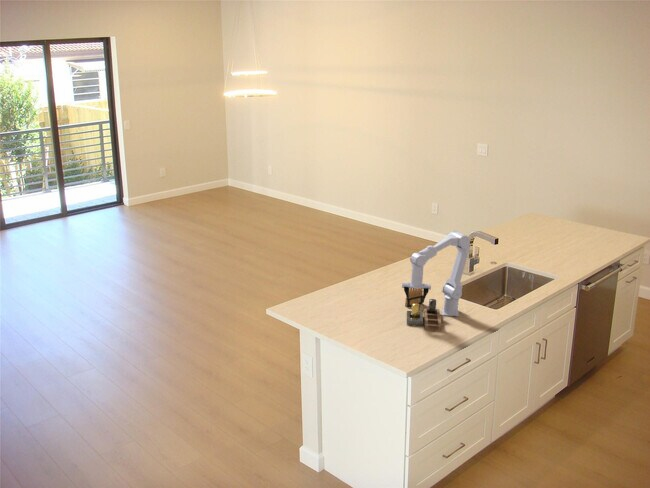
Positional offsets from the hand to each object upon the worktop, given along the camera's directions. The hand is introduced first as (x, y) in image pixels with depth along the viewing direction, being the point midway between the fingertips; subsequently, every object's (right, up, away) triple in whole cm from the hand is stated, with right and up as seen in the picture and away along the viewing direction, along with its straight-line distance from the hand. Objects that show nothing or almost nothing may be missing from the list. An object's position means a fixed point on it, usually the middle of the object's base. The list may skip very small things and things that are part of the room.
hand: (415, 301), depth 364 cm
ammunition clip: (+2, -4, +22) cm, 22 cm away
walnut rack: (+9, -10, +2) cm, 14 cm away
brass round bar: (0, -10, +3) cm, 10 cm away
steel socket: (0, -10, +3) cm, 10 cm away
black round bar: (+10, -8, +8) cm, 15 cm away
